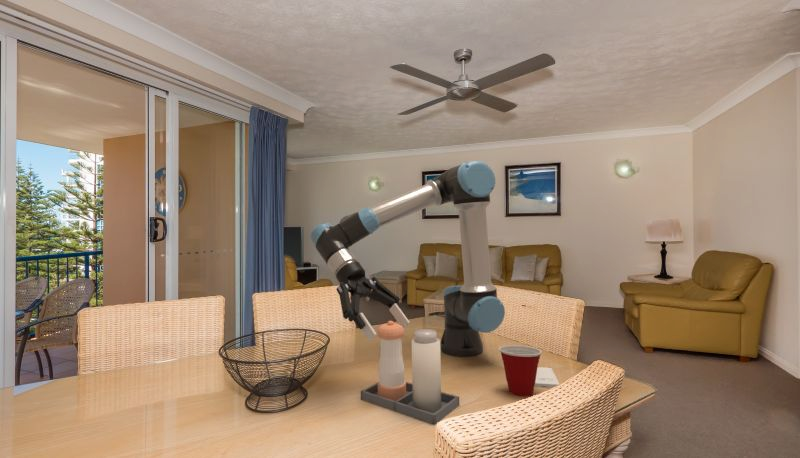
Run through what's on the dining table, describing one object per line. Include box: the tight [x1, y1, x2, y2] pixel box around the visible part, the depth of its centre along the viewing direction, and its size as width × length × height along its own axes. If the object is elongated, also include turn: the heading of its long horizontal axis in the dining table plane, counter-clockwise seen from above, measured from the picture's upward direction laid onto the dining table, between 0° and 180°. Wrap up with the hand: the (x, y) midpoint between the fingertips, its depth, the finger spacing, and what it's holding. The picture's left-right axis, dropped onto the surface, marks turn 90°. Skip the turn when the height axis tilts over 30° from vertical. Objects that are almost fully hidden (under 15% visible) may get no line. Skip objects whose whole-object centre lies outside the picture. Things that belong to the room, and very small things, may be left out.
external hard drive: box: [534, 366, 560, 388], centre depth 109 cm, size 2×8×12 cm
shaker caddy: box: [360, 381, 460, 426], centre depth 93 cm, size 11×22×3 cm, turn 53°
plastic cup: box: [498, 344, 543, 397], centre depth 99 cm, size 11×11×12 cm
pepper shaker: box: [376, 320, 407, 401], centre depth 97 cm, size 7×7×19 cm
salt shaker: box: [411, 328, 442, 414], centre depth 90 cm, size 7×7×18 cm
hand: (390, 331), depth 96 cm, fingers open, 13 cm apart
